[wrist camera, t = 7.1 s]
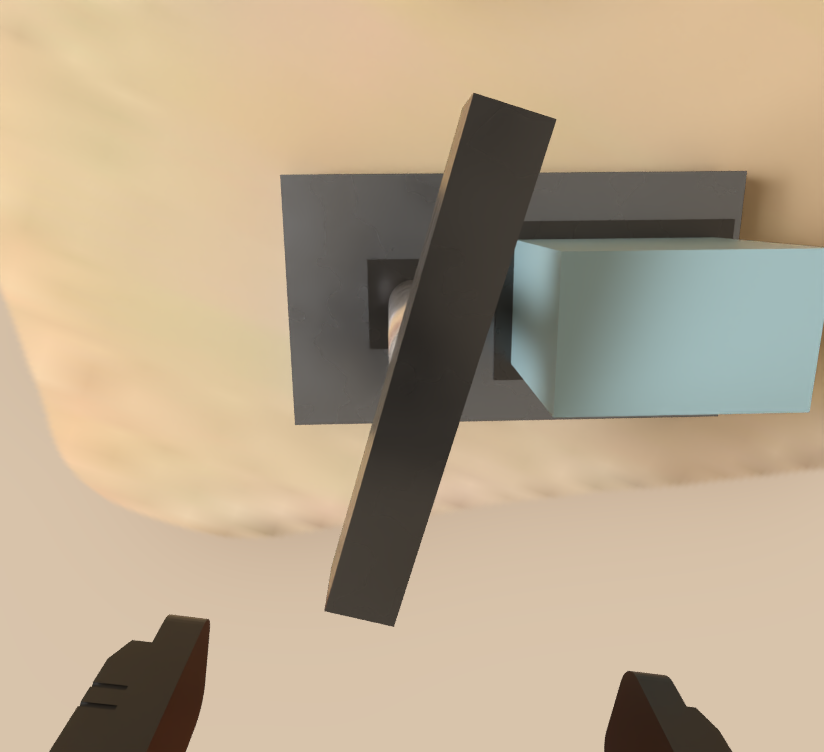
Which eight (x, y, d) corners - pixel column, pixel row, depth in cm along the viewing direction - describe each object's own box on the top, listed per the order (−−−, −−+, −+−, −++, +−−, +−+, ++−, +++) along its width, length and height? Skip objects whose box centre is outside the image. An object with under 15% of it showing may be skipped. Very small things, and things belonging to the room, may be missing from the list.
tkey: (348, 446, 27) (320, 609, 16) (432, 144, 24) (468, 91, 13) (393, 458, 27) (397, 627, 16) (482, 160, 24) (561, 120, 13)
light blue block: (514, 239, 25) (561, 251, 18) (715, 237, 25) (835, 248, 19) (511, 363, 26) (553, 417, 20) (702, 360, 27) (809, 412, 20)
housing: (288, 177, 26) (279, 174, 24) (721, 173, 27) (748, 170, 25) (301, 410, 29) (294, 425, 27) (696, 402, 29) (719, 416, 27)
